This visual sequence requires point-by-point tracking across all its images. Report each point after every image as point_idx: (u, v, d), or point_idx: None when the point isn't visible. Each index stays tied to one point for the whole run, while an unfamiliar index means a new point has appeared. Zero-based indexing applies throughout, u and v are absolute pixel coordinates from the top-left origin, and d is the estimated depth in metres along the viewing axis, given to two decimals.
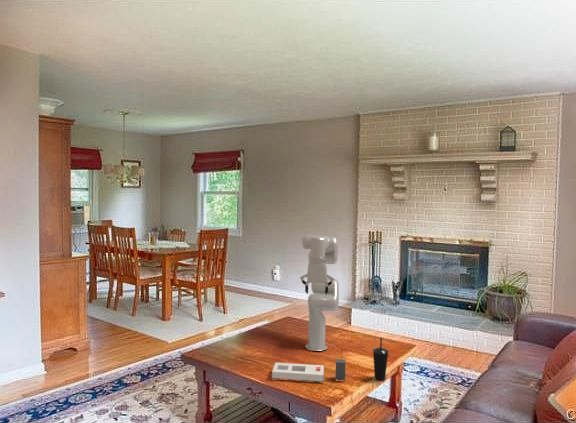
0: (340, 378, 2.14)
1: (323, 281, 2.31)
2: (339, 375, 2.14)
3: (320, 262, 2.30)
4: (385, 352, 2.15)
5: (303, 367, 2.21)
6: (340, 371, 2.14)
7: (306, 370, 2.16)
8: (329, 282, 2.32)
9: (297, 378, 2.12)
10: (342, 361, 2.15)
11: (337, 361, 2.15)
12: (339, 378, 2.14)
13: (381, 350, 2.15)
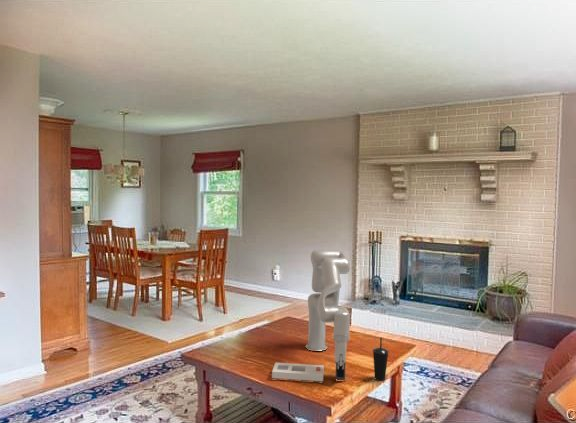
0: (340, 378, 2.14)
1: None
2: None
3: None
4: (385, 352, 2.15)
5: (303, 367, 2.21)
6: None
7: (306, 370, 2.16)
8: None
9: (297, 378, 2.12)
10: (342, 361, 2.15)
11: None
12: (339, 378, 2.14)
13: (381, 350, 2.15)
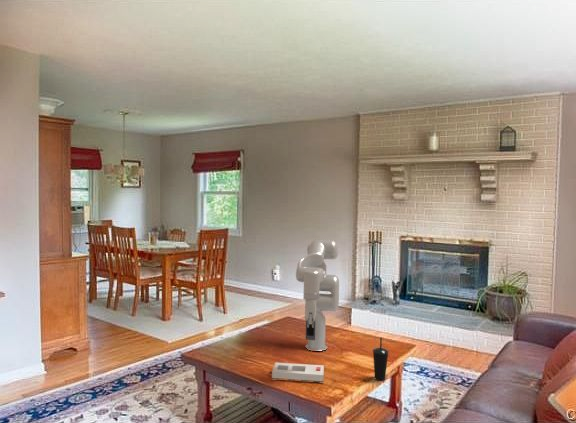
0: (310, 337, 2.14)
1: None
2: None
3: None
4: (385, 352, 2.15)
5: (303, 367, 2.21)
6: None
7: (306, 370, 2.16)
8: None
9: (297, 378, 2.12)
10: (312, 320, 2.16)
11: (307, 320, 2.16)
12: (309, 337, 2.15)
13: (381, 350, 2.15)
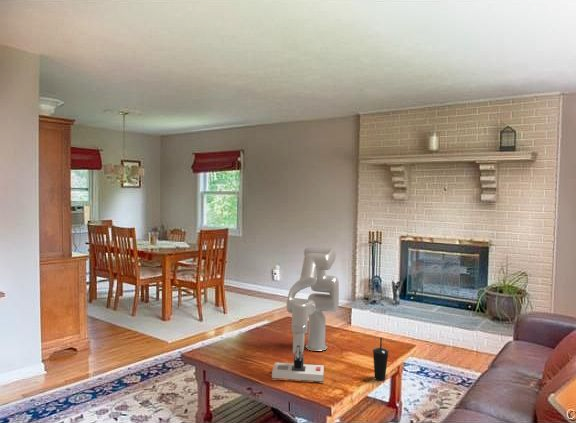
0: None
1: None
2: (297, 370, 2.16)
3: None
4: (385, 352, 2.15)
5: None
6: None
7: (306, 370, 2.16)
8: None
9: (297, 378, 2.12)
10: None
11: None
12: None
13: (381, 350, 2.15)
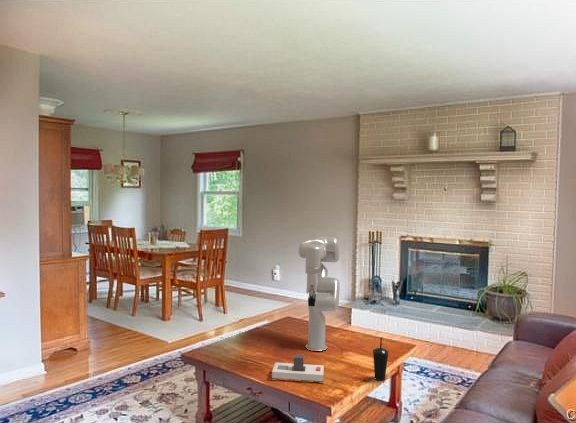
0: None
1: None
2: (297, 370, 2.16)
3: None
4: (385, 352, 2.15)
5: None
6: (298, 367, 2.15)
7: (306, 370, 2.16)
8: None
9: (297, 378, 2.12)
10: (300, 356, 2.17)
11: (295, 356, 2.17)
12: None
13: (381, 350, 2.15)
